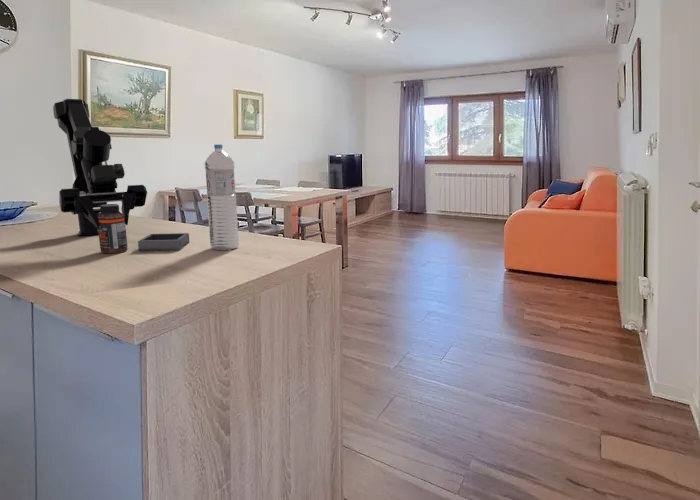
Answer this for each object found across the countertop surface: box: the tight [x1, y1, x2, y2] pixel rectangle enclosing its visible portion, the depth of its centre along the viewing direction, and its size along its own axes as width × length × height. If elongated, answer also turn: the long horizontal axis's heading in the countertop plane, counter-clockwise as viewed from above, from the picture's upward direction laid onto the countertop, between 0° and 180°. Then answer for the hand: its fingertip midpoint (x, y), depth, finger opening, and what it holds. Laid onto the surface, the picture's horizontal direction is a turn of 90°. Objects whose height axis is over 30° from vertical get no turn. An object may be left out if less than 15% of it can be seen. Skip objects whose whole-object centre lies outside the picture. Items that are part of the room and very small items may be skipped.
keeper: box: [137, 232, 190, 252], centre depth 121 cm, size 10×10×2 cm
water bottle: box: [204, 143, 240, 251], centre depth 117 cm, size 7×7×25 cm
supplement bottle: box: [97, 203, 129, 255], centre depth 115 cm, size 6×6×11 cm
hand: (112, 225), depth 114 cm, fingers closed on supplement bottle, 6 cm apart
